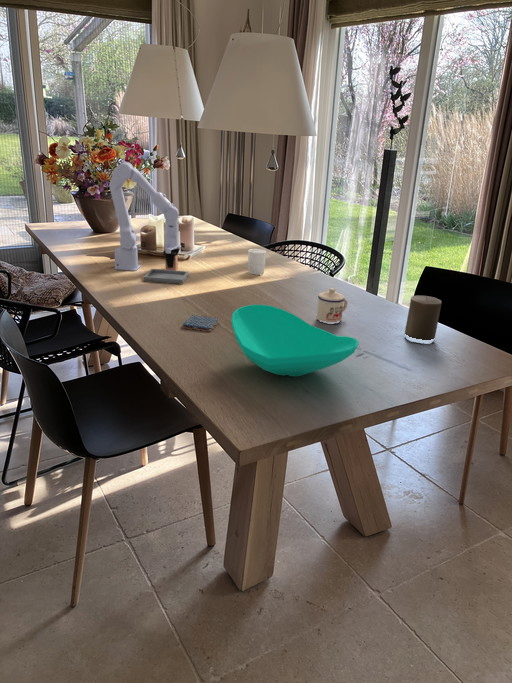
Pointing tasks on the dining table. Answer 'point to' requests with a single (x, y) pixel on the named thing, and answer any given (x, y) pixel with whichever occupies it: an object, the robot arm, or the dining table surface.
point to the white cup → (256, 261)
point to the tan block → (173, 265)
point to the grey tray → (166, 276)
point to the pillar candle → (423, 317)
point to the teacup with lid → (331, 306)
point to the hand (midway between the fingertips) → (171, 266)
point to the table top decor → (287, 341)
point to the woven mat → (200, 323)
